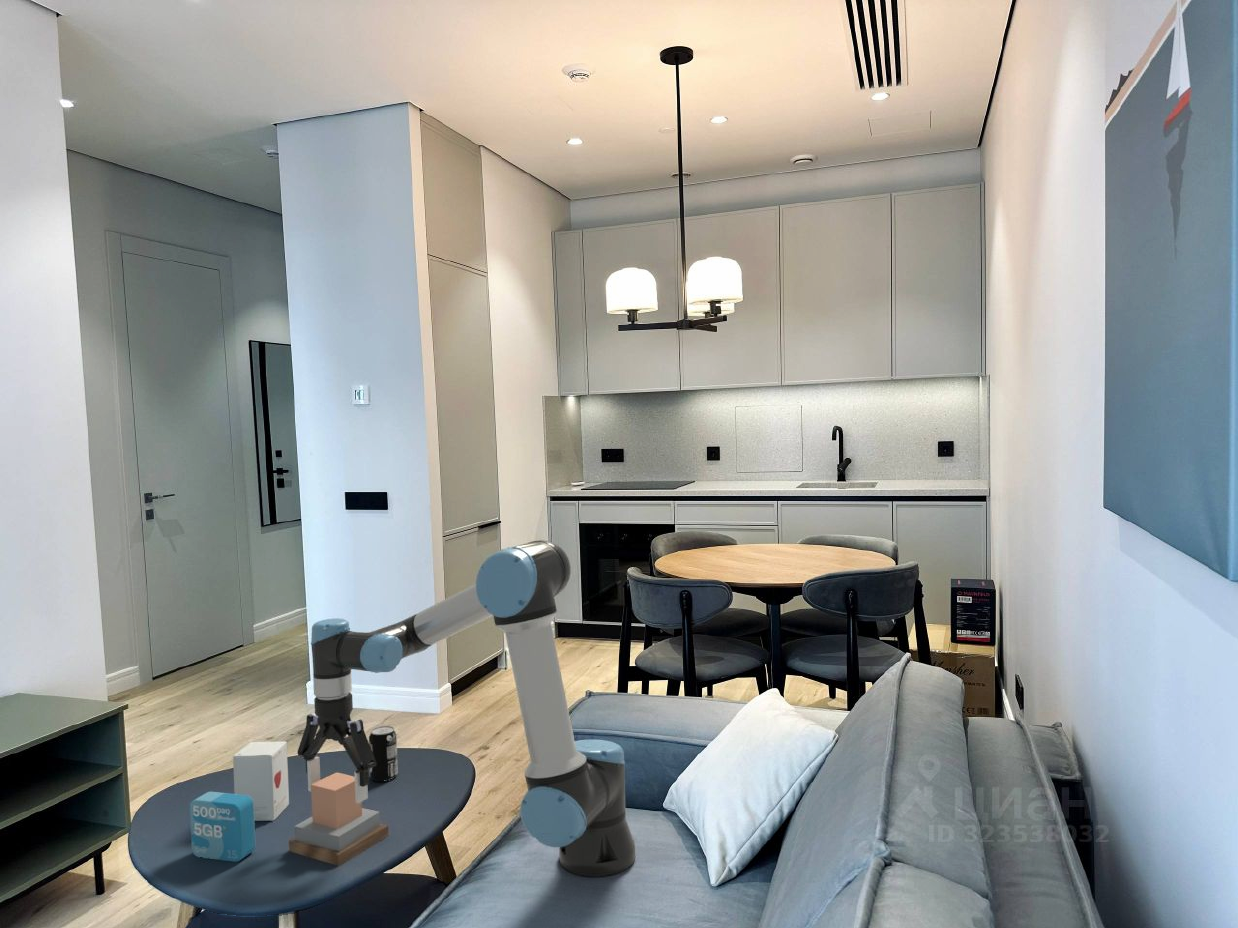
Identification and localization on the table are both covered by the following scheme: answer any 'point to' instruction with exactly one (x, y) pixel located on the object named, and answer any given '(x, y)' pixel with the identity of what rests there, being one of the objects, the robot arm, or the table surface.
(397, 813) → the table surface
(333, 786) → the terracotta block
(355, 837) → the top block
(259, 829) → the table surface
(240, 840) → the data package
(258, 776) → the supplement box
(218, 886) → the table surface
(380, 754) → the beverage can
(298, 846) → the base block
